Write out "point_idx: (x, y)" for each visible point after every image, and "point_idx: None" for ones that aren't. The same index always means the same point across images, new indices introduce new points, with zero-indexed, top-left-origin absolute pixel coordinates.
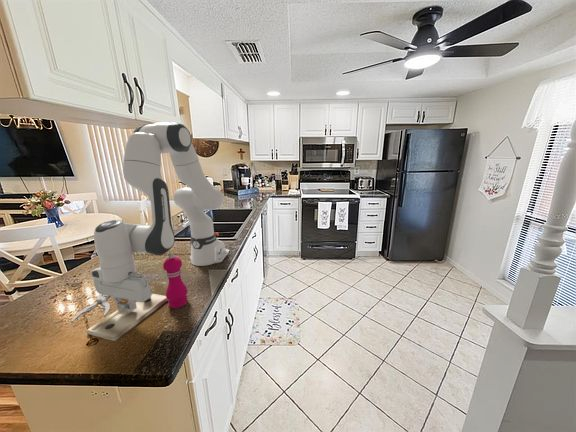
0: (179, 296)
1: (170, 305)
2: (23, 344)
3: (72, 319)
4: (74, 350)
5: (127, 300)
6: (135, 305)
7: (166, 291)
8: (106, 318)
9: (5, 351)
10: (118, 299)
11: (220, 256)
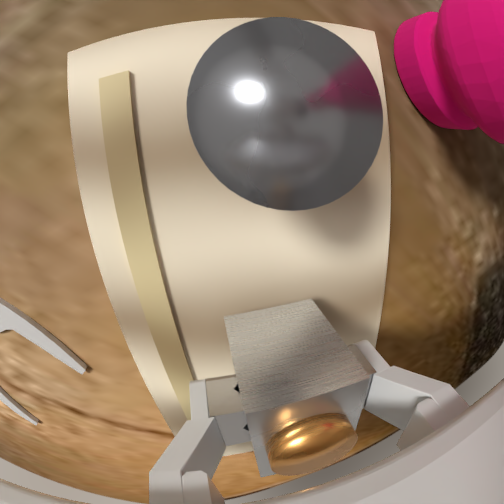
0: None
1: (446, 125)
2: (76, 479)
3: (24, 417)
4: (245, 466)
5: (352, 441)
6: (375, 353)
7: None
8: (172, 410)
9: (79, 489)
10: (205, 465)
11: None
